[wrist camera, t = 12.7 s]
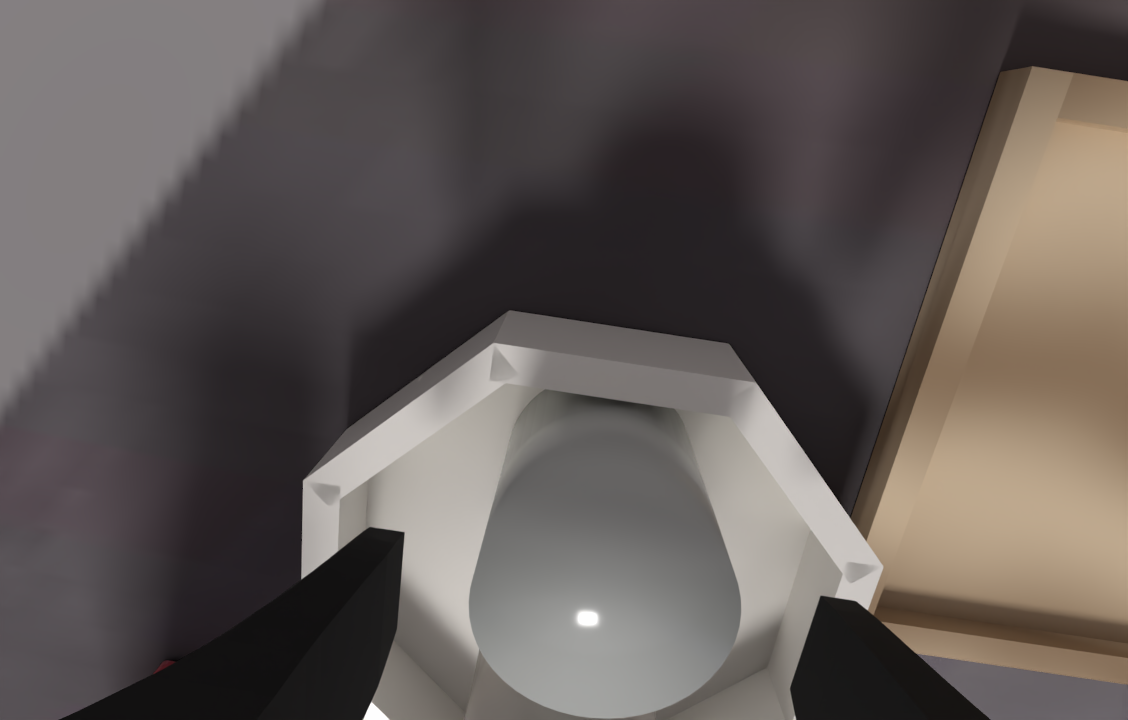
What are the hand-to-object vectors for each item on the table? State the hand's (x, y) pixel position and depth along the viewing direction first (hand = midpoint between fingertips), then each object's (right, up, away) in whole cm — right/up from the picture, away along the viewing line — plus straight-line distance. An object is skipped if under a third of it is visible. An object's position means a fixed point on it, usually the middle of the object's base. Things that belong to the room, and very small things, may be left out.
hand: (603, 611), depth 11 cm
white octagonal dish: (0, -1, +6) cm, 6 cm away
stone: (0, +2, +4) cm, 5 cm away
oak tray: (+12, +3, +4) cm, 14 cm away
